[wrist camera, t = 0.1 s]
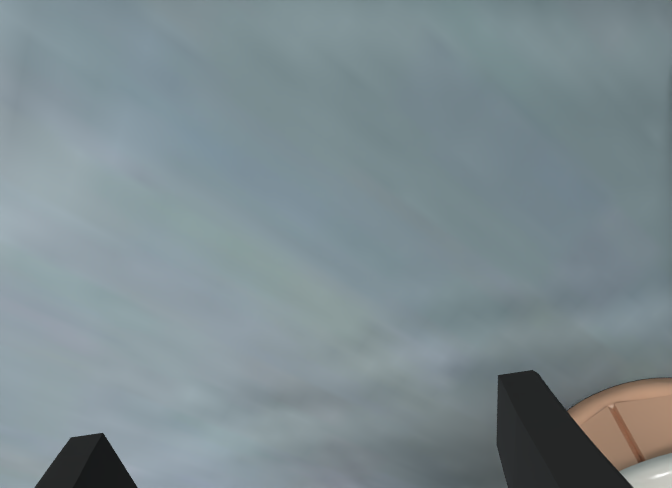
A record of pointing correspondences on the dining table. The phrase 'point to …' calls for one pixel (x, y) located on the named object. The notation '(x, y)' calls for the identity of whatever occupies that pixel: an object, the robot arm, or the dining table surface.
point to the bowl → (629, 421)
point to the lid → (650, 473)
